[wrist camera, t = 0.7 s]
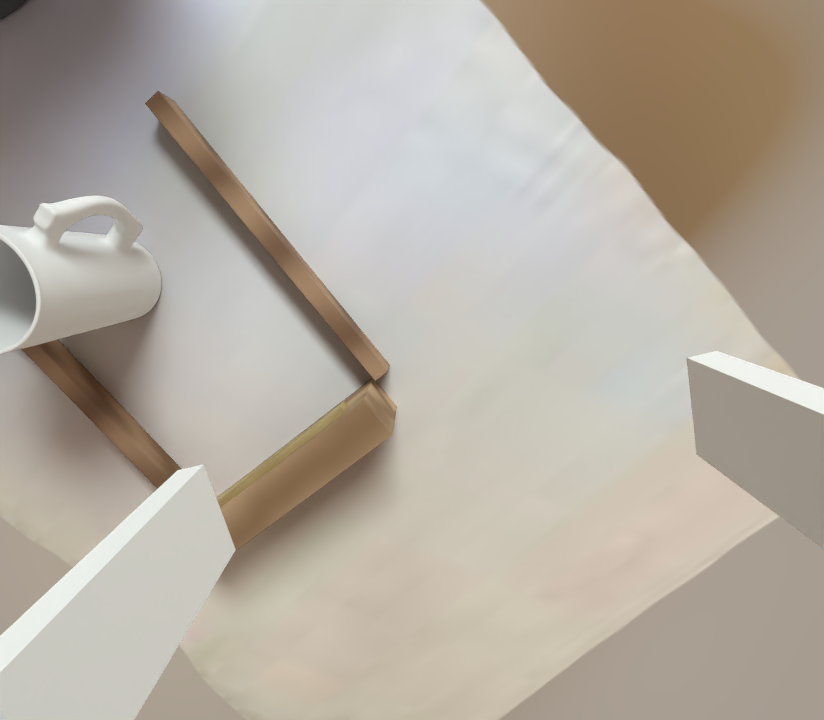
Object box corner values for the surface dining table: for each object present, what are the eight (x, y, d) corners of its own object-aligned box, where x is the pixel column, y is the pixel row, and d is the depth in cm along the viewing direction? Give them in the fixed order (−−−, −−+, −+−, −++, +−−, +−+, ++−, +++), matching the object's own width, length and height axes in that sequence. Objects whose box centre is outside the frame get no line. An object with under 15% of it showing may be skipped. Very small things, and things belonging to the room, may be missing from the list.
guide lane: (-16, 283, 36) (-41, 285, 34) (173, 100, 32) (157, 90, 31) (202, 509, 40) (190, 522, 38) (389, 365, 36) (387, 371, 34)
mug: (132, 340, 36) (-4, 382, 25) (60, 282, 36) (-118, 296, 24) (209, 242, 35) (101, 236, 23) (135, 177, 34) (-18, 137, 22)
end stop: (213, 494, 39) (176, 536, 33) (369, 374, 37) (359, 397, 31) (240, 523, 40) (209, 569, 34) (396, 406, 37) (392, 435, 31)
